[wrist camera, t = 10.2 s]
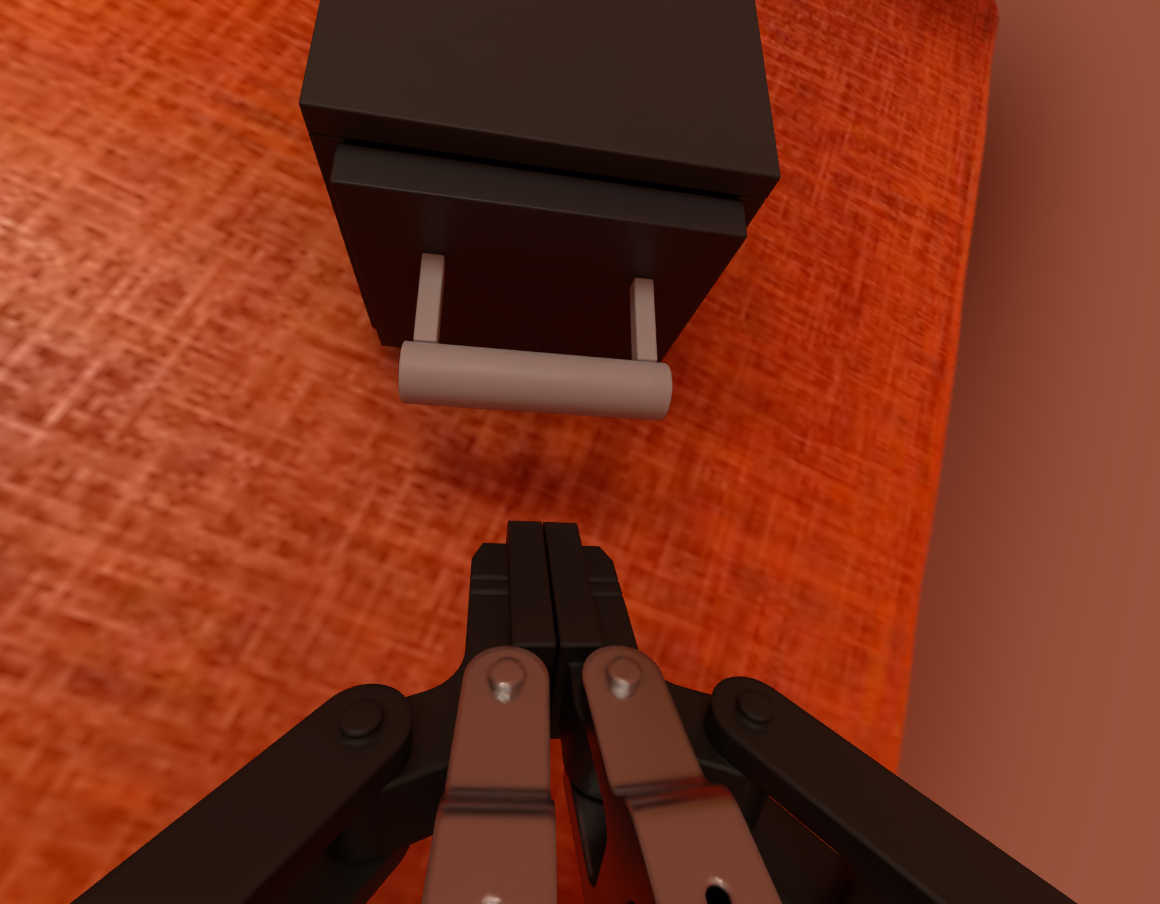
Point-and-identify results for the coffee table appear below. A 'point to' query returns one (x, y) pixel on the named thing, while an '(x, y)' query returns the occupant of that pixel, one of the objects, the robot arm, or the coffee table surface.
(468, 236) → the drawer
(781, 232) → the coffee table surface
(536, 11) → the cabinet
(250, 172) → the coffee table surface
